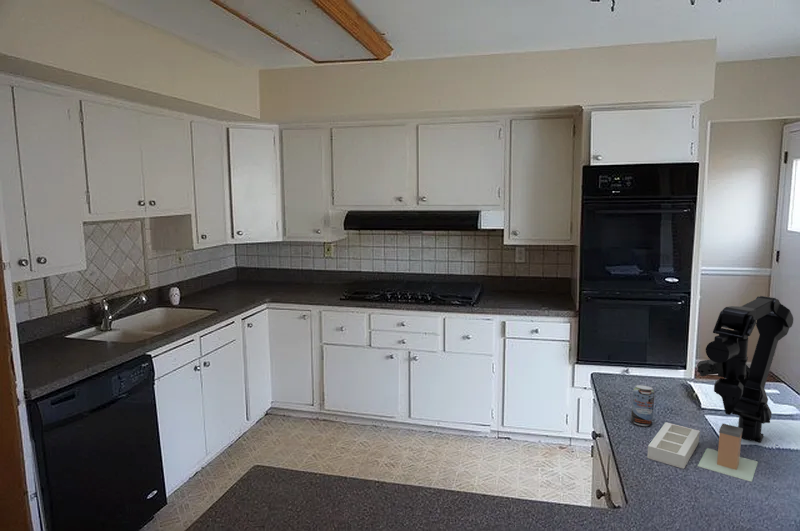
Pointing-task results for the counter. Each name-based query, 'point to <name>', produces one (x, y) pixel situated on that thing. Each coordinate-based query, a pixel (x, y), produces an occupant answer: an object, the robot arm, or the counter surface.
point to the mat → (742, 472)
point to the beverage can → (642, 405)
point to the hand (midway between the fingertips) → (730, 408)
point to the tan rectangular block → (729, 446)
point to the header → (673, 445)
